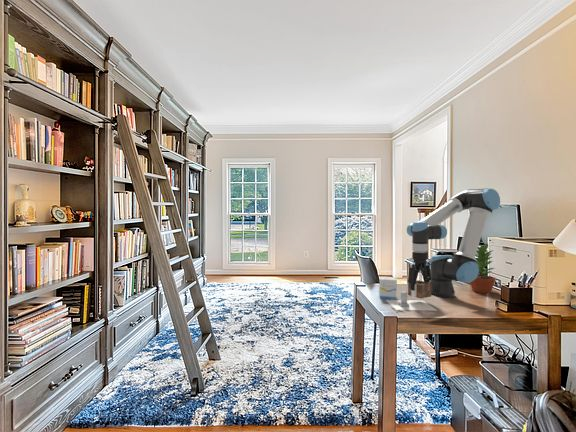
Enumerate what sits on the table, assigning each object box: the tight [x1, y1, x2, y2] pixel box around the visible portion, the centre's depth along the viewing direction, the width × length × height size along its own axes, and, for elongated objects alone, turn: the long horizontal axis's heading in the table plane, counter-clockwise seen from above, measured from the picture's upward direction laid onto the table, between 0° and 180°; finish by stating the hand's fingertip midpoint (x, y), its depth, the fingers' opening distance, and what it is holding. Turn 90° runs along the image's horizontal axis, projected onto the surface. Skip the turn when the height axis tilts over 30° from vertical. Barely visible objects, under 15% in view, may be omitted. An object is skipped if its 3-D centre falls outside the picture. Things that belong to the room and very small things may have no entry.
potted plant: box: [470, 243, 497, 294], centre depth 217 cm, size 15×15×30 cm
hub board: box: [385, 291, 438, 313], centre depth 177 cm, size 20×18×8 cm
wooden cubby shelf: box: [407, 279, 432, 299], centre depth 182 cm, size 8×8×8 cm
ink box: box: [378, 276, 398, 300], centre depth 192 cm, size 9×8×12 cm
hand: (419, 295), depth 182 cm, fingers closed on wooden cubby shelf, 8 cm apart
